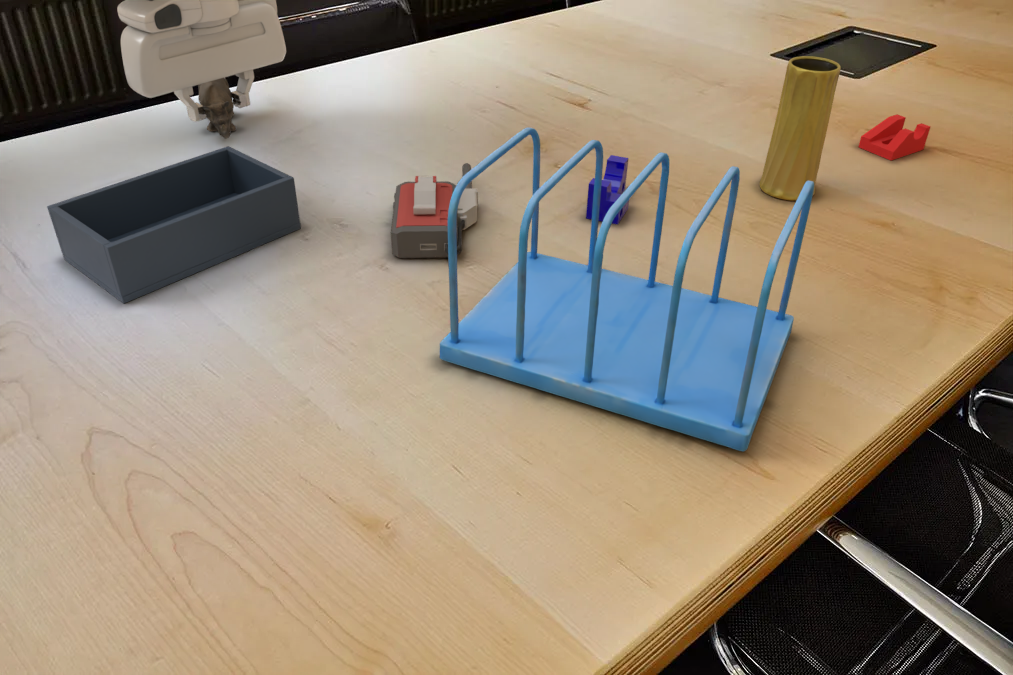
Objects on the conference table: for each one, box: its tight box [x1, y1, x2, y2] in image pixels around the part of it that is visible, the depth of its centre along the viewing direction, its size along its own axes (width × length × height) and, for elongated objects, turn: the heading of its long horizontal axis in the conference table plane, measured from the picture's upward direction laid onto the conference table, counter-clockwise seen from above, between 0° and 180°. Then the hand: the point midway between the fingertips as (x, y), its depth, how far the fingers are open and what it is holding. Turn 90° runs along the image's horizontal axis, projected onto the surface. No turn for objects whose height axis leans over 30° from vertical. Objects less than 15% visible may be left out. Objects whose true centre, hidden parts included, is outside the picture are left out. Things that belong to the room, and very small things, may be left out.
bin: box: [46, 145, 302, 304], centre depth 83 cm, size 11×19×6 cm, turn 138°
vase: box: [759, 55, 841, 202], centre depth 93 cm, size 6×6×14 cm
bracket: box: [857, 113, 931, 161], centre depth 106 cm, size 6×5×3 cm
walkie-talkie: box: [390, 162, 479, 259], centre depth 89 cm, size 9×4×20 cm
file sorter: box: [439, 126, 814, 452], centre depth 67 cm, size 25×17×15 cm
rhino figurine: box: [197, 77, 237, 139], centre depth 107 cm, size 4×14×6 cm, turn 19°
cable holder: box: [585, 154, 630, 226], centre depth 92 cm, size 8×4×4 cm, turn 158°
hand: (220, 112), depth 108 cm, fingers closed on rhino figurine, 5 cm apart
